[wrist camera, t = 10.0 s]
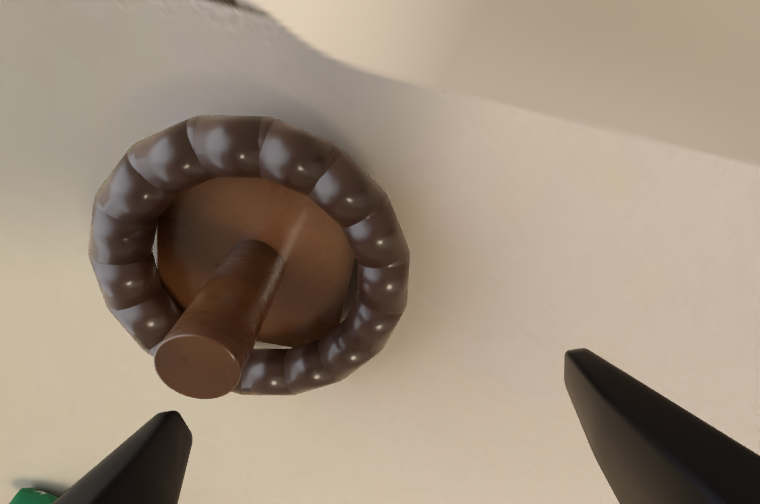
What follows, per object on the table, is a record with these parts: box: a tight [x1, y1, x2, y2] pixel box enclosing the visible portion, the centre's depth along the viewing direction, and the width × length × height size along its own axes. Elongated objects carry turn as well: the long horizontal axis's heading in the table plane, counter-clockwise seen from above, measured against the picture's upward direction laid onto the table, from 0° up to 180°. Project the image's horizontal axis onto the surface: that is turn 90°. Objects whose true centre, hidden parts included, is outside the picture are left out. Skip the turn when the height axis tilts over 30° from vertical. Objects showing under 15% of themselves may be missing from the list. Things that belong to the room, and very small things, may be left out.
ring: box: [89, 115, 410, 395], centre depth 16 cm, size 12×12×2 cm
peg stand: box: [154, 177, 356, 399], centre depth 14 cm, size 8×8×7 cm
